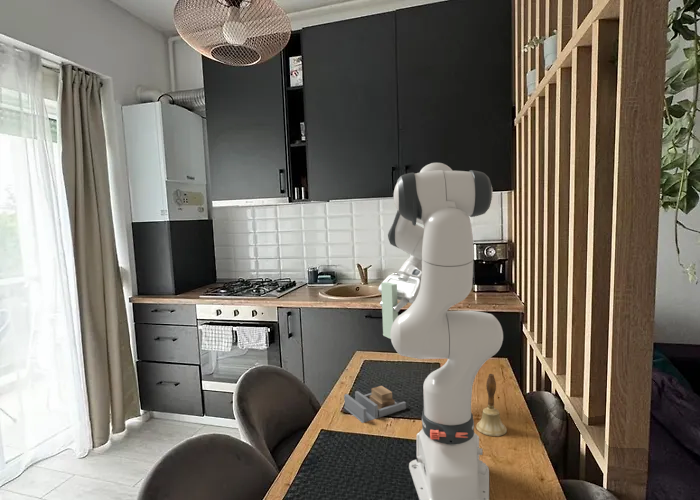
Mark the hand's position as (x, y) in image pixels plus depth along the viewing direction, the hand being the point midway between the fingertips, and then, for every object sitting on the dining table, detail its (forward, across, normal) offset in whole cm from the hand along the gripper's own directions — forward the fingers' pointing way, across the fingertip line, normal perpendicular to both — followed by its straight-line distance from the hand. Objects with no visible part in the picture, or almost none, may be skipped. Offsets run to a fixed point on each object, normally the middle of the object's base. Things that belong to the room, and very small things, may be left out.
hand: (388, 308), depth 132 cm
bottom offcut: (+25, +2, +18) cm, 31 cm away
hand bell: (+13, +30, +32) cm, 46 cm away
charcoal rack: (+28, +2, +17) cm, 33 cm away
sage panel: (+6, 0, +7) cm, 10 cm away
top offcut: (+24, +2, +16) cm, 29 cm away
